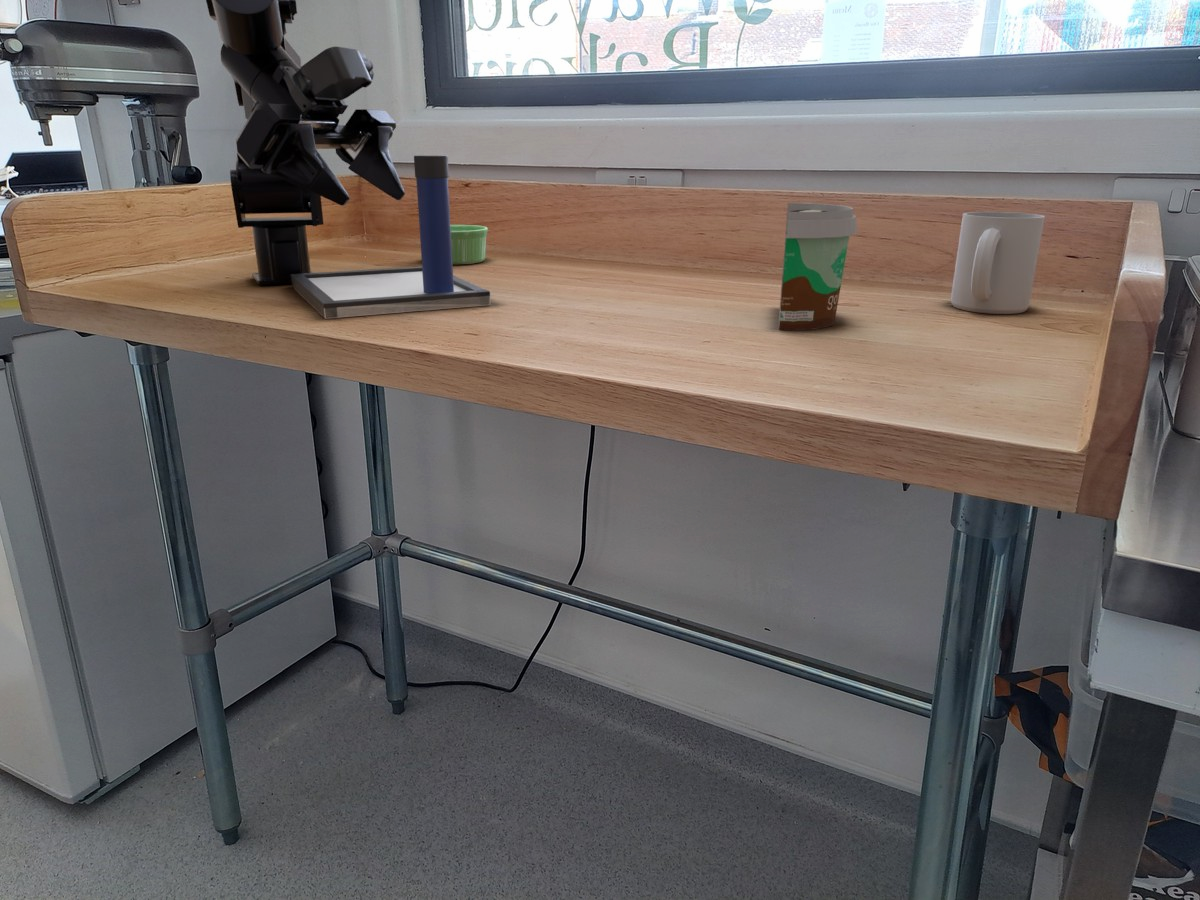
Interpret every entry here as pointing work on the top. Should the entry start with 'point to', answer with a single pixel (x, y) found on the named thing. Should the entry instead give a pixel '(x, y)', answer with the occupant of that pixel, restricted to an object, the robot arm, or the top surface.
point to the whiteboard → (381, 292)
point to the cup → (996, 261)
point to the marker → (434, 222)
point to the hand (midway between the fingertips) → (375, 199)
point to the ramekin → (468, 244)
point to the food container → (813, 263)
